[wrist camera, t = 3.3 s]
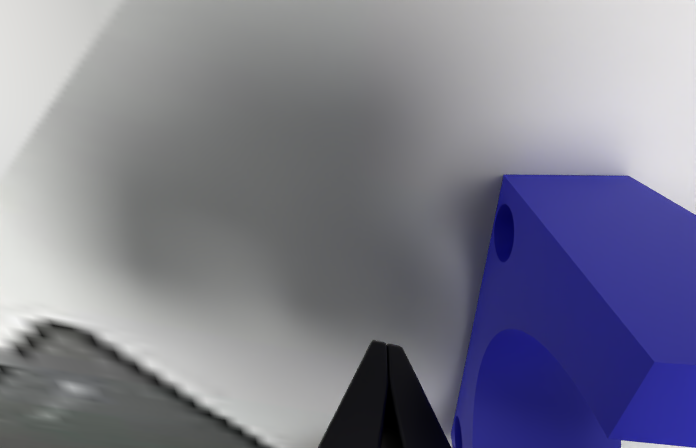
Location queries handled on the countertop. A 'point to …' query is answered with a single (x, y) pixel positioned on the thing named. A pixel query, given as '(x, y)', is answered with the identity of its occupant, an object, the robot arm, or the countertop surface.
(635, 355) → the cable clip
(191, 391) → the countertop surface
